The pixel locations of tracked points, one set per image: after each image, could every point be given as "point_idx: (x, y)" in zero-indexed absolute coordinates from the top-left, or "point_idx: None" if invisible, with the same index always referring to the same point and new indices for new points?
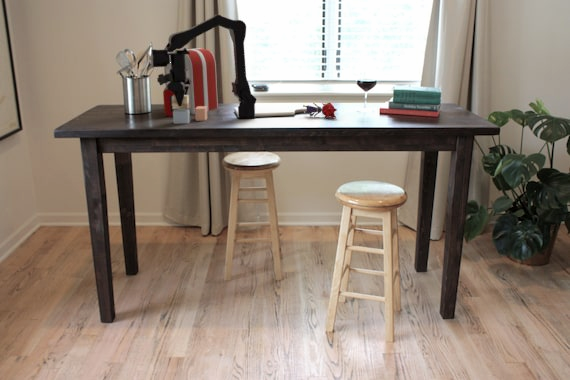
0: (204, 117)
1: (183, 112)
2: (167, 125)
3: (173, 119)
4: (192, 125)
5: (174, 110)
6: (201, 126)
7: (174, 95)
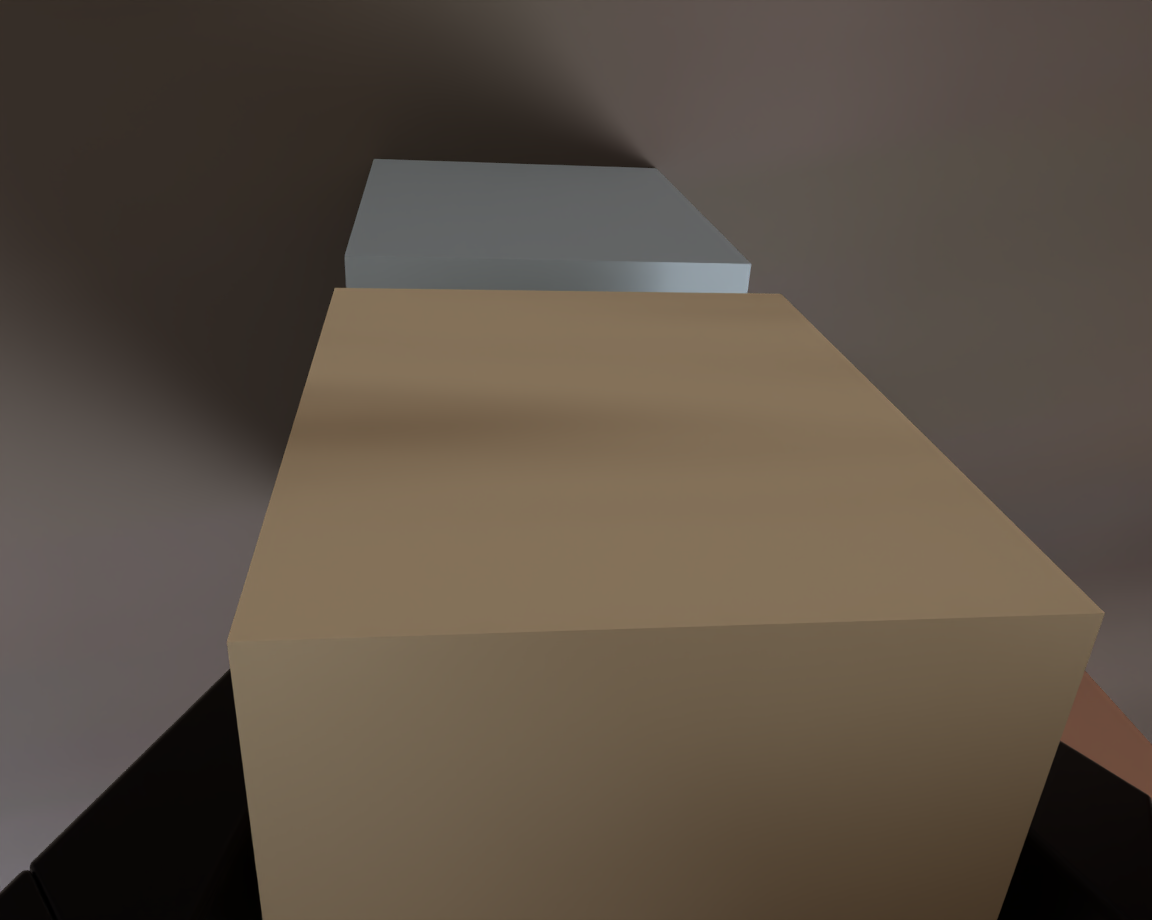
0: None
1: None
2: (24, 17)
3: (365, 187)
4: (109, 661)
5: (567, 283)
6: (14, 836)
7: (848, 707)
